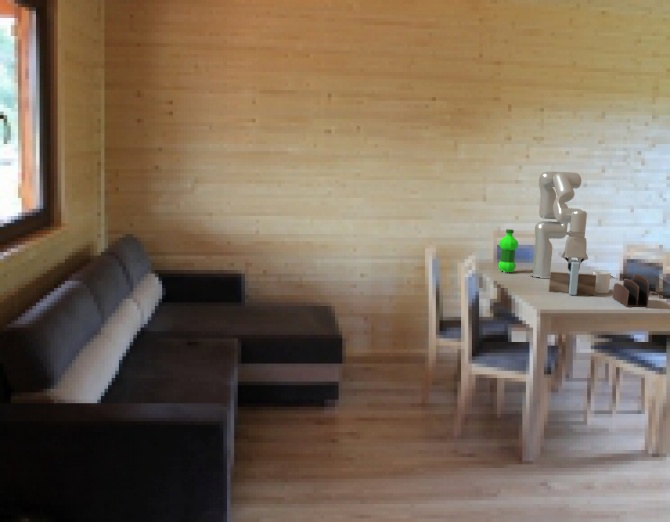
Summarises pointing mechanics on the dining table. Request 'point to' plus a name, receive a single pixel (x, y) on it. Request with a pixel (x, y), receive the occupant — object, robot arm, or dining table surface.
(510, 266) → the plastic bottle
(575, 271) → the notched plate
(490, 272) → the dining table surface
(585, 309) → the dining table surface
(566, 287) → the slotted board
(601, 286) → the cup
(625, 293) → the letter holder
